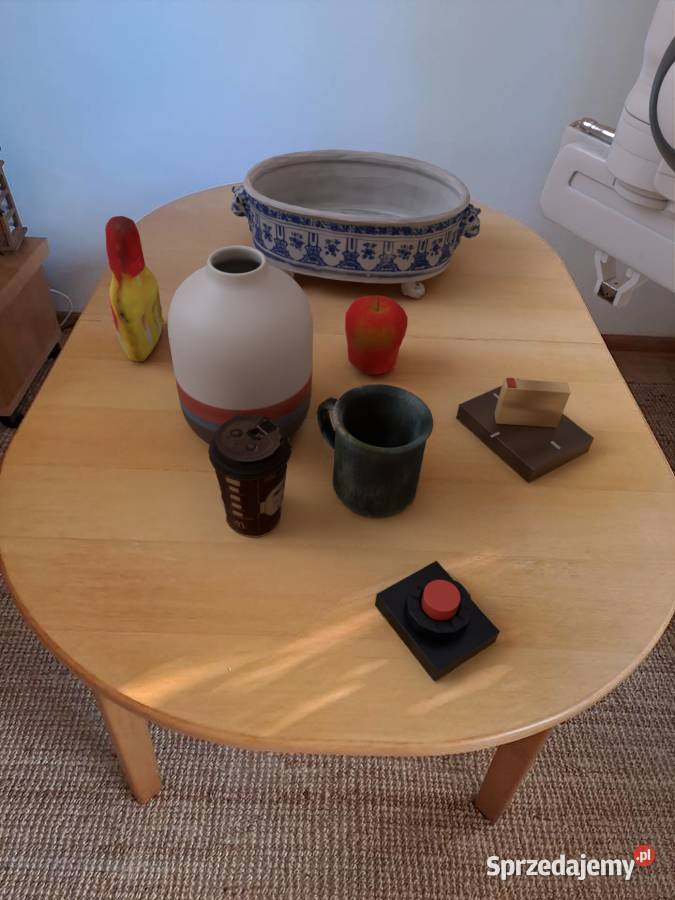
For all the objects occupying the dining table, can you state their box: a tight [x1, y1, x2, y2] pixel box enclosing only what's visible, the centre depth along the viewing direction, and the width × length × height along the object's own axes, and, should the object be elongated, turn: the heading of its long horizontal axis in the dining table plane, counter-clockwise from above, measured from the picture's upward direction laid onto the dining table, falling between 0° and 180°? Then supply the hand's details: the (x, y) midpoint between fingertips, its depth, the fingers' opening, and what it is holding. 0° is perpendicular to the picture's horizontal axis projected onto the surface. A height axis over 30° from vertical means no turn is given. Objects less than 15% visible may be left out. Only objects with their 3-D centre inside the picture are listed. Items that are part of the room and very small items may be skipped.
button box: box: [374, 560, 501, 683], centre depth 68 cm, size 10×8×4 cm
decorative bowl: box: [230, 149, 482, 299], centre depth 114 cm, size 42×27×15 cm, turn 85°
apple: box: [344, 294, 409, 376], centre depth 94 cm, size 9×8×12 cm
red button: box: [421, 580, 460, 621], centre depth 66 cm, size 4×4×2 cm
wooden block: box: [494, 377, 571, 427], centre depth 86 cm, size 8×2×6 cm, turn 87°
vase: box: [167, 244, 314, 445], centre depth 81 cm, size 17×17×24 cm
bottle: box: [104, 215, 165, 362], centre depth 93 cm, size 12×6×20 cm, turn 179°
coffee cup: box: [208, 414, 293, 538], centre depth 73 cm, size 9×8×13 cm
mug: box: [316, 383, 435, 518], centre depth 78 cm, size 11×15×12 cm
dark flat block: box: [455, 378, 595, 484], centre depth 89 cm, size 14×12×3 cm
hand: (609, 299), depth 64 cm, fingers closed
